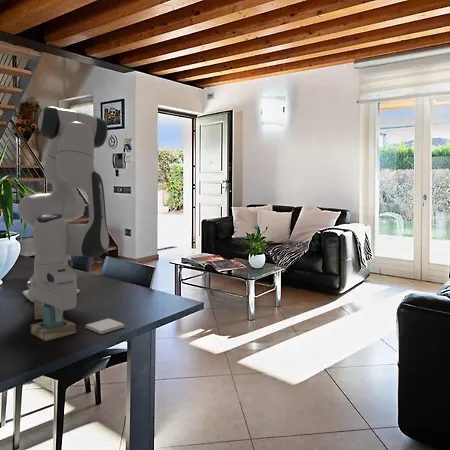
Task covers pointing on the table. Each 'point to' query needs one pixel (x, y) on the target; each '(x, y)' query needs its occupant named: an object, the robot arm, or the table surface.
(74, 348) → the table surface
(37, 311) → the skincare box
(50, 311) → the teal bar
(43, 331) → the pocket holder
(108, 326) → the ceramic tile
